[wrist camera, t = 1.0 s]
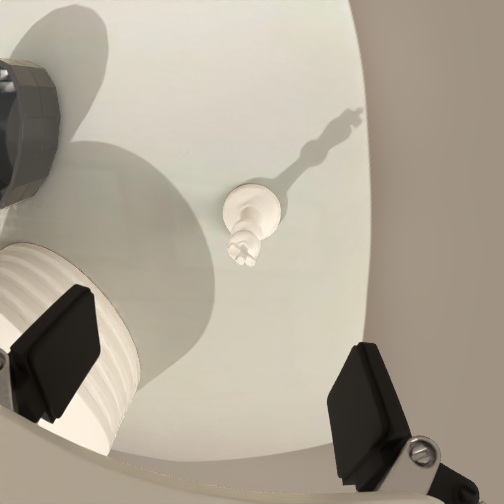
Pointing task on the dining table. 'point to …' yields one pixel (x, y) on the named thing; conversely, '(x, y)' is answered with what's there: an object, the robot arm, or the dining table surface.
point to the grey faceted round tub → (25, 129)
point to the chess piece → (249, 220)
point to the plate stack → (110, 335)
